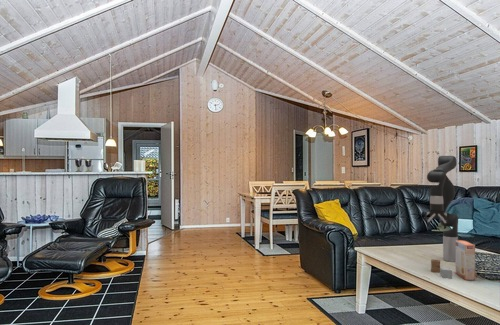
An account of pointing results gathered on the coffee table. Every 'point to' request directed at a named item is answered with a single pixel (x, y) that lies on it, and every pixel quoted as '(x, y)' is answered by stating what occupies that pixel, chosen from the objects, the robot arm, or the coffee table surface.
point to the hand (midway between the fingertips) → (436, 228)
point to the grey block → (446, 273)
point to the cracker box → (465, 260)
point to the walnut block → (435, 266)
